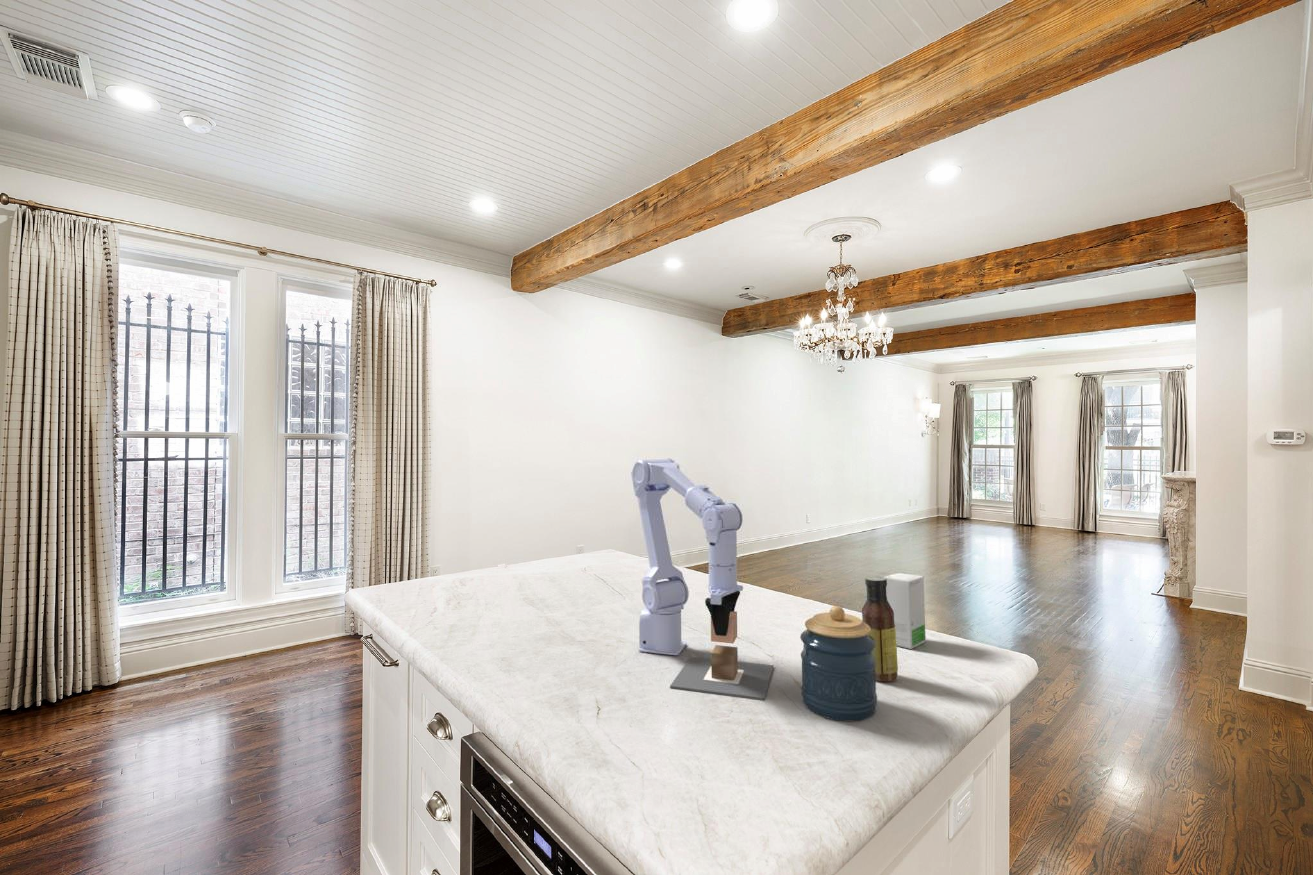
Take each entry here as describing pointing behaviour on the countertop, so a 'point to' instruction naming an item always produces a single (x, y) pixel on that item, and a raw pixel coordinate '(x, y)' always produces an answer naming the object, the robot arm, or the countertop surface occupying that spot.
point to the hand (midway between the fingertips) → (723, 631)
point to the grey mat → (746, 683)
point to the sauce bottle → (881, 628)
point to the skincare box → (907, 608)
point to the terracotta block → (731, 631)
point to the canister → (838, 666)
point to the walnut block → (724, 662)
